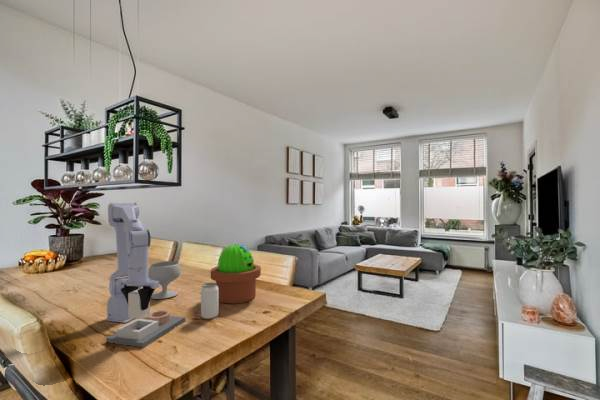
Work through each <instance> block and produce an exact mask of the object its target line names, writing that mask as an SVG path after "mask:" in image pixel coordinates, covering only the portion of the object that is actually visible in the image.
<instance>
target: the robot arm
mask: <svg viewBox="0 0 600 400" xmlns="http://www.w3.org/2000/svg"><path fill="white" fill-rule="evenodd" d="M139 215H140V205H139V204H138V202H127V203H126V202H124V203H123V202H119V203H118V202H115V203H114V202H110V203H109V204H108V206H107V219H108V223H109V224H108V225H109V226H111V227H113V228H114V230H115V239H116V240H115V242H116V257H117V258H116V260H117V261H116V262H117V269H116V270H115V271H114V272H113V273H111V275H109V284H108V285H109V287H108V288H109V295H110V296H109V298H108V299H107V303H106V307H107V308H106V314H107V315H106V318H104V319H105V321H108V322H115V323H122V324H126V323H129V322H130V321H133V320H134V318H128V293H130V292H132V291H135V290H138V289H139V290H138V293H139V296H140V300H141V310H145V309H147V308H148V305H149V302H150V303H151V299H152V298H151V296H152V294H154V293H155V290H156V289H158V288H159V287H160V284H159V281H154V280H151V279H149V278H148V270H149V247H150V246H151V241H152V239H151V238H152V236H151V232H150V230H149V229H146V228H144V224H143V223H142V221H141V220H140V219H139Z"/></svg>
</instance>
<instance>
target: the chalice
mask: <svg viewBox="0 0 600 400" xmlns="http://www.w3.org/2000/svg"><path fill="white" fill-rule="evenodd" d="M181 272H182V271H181V266H180V264H179V262H177V261H175V260H174V261H173V260H171V261H170V260H169V261H168V260H167V261H158V262H154V263H151V264H150V265H149V266H148V279H151V280H154V281H159V286H161V288H162V290H161V291H157V292H153V294H152V296H151V299H152V300H166V299H170V298H173V297H176V296H178V295H179V292H178V291H177V290H173V289H172V290H168V285H169V284H171V283H173V281H175V280H177V279H178V278H179V277H180V275H181Z"/></svg>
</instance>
